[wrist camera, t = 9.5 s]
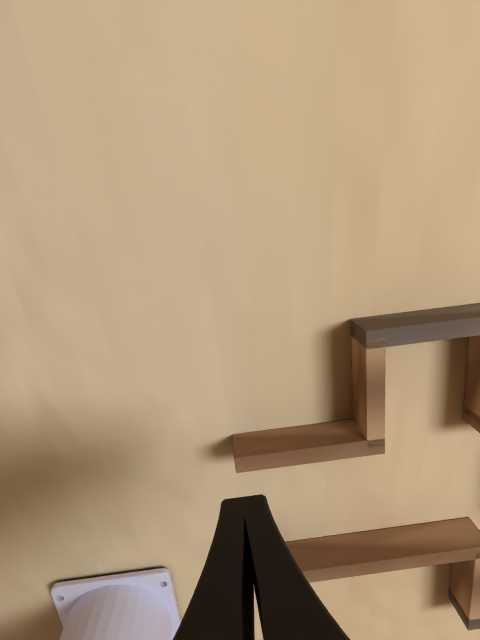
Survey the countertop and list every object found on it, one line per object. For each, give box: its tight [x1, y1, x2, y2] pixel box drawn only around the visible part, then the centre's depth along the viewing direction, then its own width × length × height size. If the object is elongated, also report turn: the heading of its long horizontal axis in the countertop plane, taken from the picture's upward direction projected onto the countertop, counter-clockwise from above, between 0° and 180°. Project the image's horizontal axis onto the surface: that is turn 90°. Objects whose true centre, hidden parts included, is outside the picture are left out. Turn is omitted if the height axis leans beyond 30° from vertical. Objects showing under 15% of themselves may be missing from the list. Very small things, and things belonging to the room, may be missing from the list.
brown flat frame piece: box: [233, 303, 480, 630], centre depth 22 cm, size 23×26×2 cm
